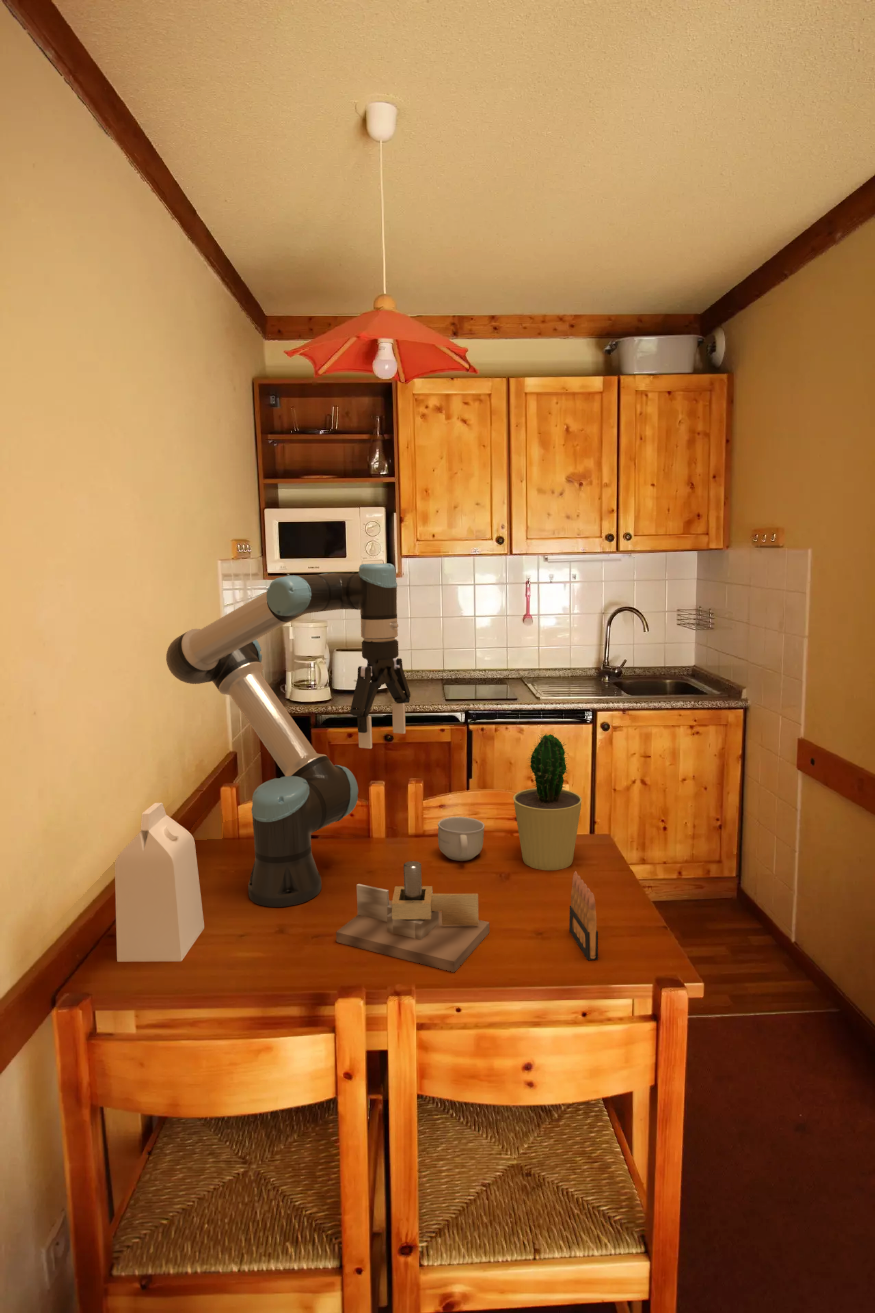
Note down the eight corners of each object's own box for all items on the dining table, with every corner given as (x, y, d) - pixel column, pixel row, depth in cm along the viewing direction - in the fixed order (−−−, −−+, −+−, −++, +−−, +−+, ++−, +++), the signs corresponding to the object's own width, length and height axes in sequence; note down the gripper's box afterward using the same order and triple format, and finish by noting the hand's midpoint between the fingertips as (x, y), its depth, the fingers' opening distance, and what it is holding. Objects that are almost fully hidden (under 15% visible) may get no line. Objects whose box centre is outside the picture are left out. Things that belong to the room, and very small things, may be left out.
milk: (145, 928, 145) (134, 797, 142) (204, 927, 145) (195, 797, 141) (117, 961, 133) (105, 820, 130) (181, 961, 133) (171, 819, 129)
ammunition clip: (598, 960, 130) (598, 894, 129) (588, 961, 130) (588, 895, 129) (578, 930, 141) (578, 868, 139) (569, 930, 141) (569, 869, 139)
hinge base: (336, 942, 138) (334, 900, 137) (379, 907, 152) (378, 869, 150) (454, 972, 127) (453, 928, 126) (489, 932, 141) (488, 891, 140)
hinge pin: (402, 928, 139) (400, 866, 137) (410, 920, 142) (408, 860, 140) (417, 932, 137) (416, 869, 135) (425, 924, 140) (424, 862, 138)
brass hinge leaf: (392, 934, 136) (391, 903, 135) (396, 915, 143) (395, 886, 142) (478, 933, 135) (478, 903, 134) (478, 915, 142) (477, 886, 141)
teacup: (441, 846, 182) (441, 814, 181) (486, 847, 181) (486, 815, 180) (433, 870, 169) (432, 836, 168) (481, 872, 167) (481, 837, 166)
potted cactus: (526, 843, 183) (525, 722, 179) (588, 853, 176) (589, 727, 172) (503, 867, 169) (502, 737, 165) (571, 879, 163) (571, 743, 159)
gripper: (362, 647, 142) (366, 756, 145) (424, 633, 164) (426, 728, 167) (329, 645, 146) (333, 752, 149) (394, 632, 168) (397, 725, 170)
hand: (383, 740), depth 158 cm, fingers open, 13 cm apart
